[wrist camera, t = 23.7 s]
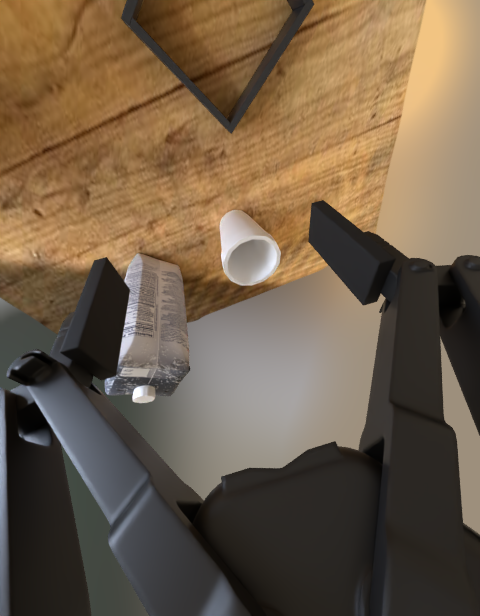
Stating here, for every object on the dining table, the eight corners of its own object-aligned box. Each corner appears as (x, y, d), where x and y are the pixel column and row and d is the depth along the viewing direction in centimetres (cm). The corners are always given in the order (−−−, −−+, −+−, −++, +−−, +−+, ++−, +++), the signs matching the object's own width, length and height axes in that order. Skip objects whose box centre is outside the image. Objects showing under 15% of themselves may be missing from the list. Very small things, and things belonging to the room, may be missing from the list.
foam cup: (202, 233, 44) (212, 273, 35) (228, 191, 39) (246, 224, 31) (240, 253, 49) (257, 292, 41) (267, 217, 45) (292, 252, 36)
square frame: (125, 23, 25) (120, 18, 22) (198, -191, 18) (203, -231, 16) (226, 129, 33) (231, 133, 31) (301, 10, 27) (314, 3, 24)
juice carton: (132, 245, 43) (108, 373, 24) (185, 263, 48) (198, 378, 30) (122, 280, 47) (96, 408, 29) (171, 292, 53) (175, 407, 34)
